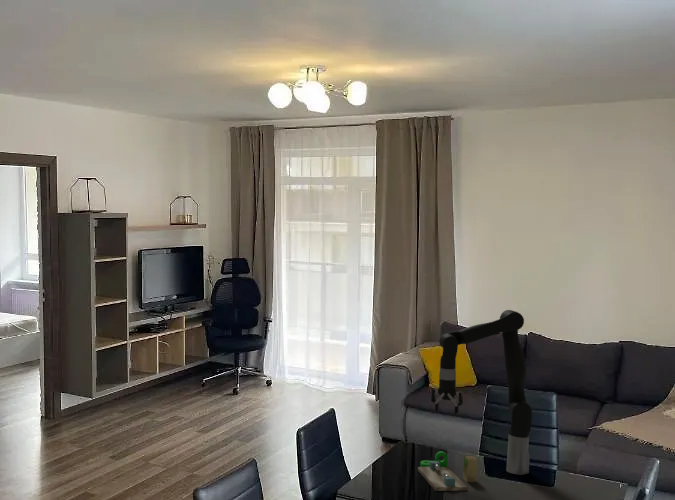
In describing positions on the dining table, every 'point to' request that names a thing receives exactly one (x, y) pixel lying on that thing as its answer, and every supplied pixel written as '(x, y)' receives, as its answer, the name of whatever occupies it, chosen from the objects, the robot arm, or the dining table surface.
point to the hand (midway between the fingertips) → (446, 412)
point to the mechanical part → (442, 463)
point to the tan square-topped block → (470, 469)
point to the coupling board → (441, 478)
